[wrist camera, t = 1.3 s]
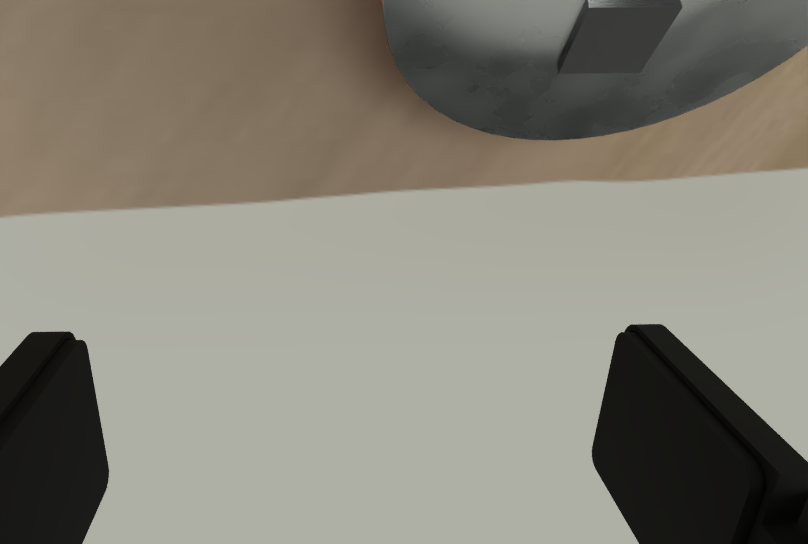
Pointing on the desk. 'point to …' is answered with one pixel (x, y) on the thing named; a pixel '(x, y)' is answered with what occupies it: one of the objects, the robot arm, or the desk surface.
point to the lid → (585, 58)
